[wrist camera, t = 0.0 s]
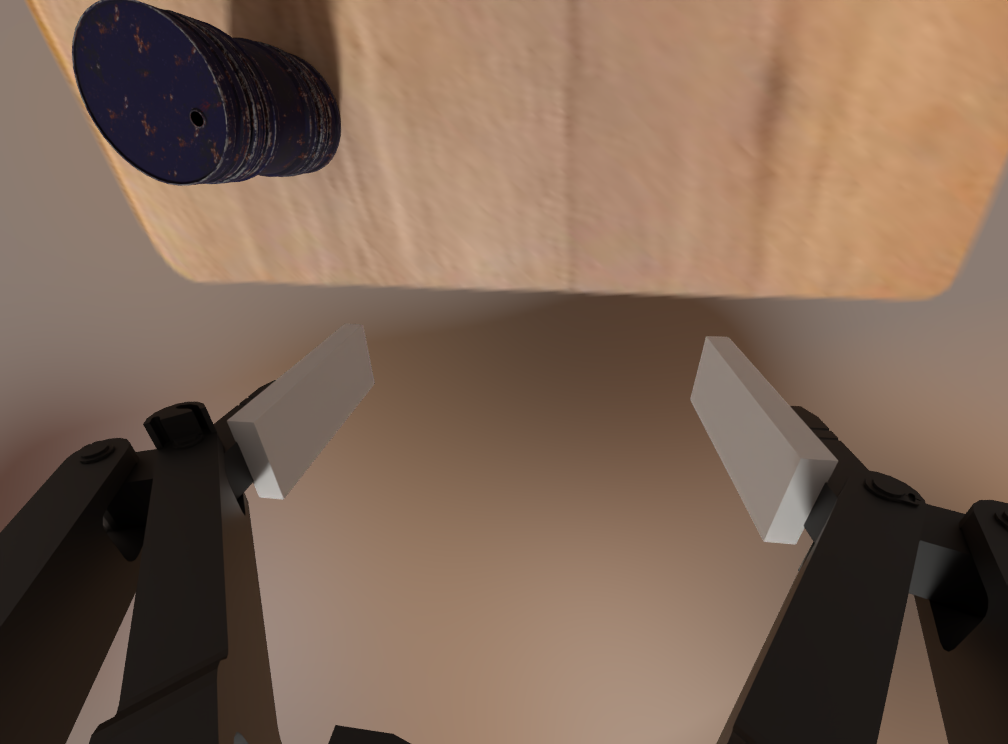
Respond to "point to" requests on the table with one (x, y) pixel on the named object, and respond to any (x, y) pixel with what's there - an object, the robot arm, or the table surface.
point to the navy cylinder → (199, 98)
